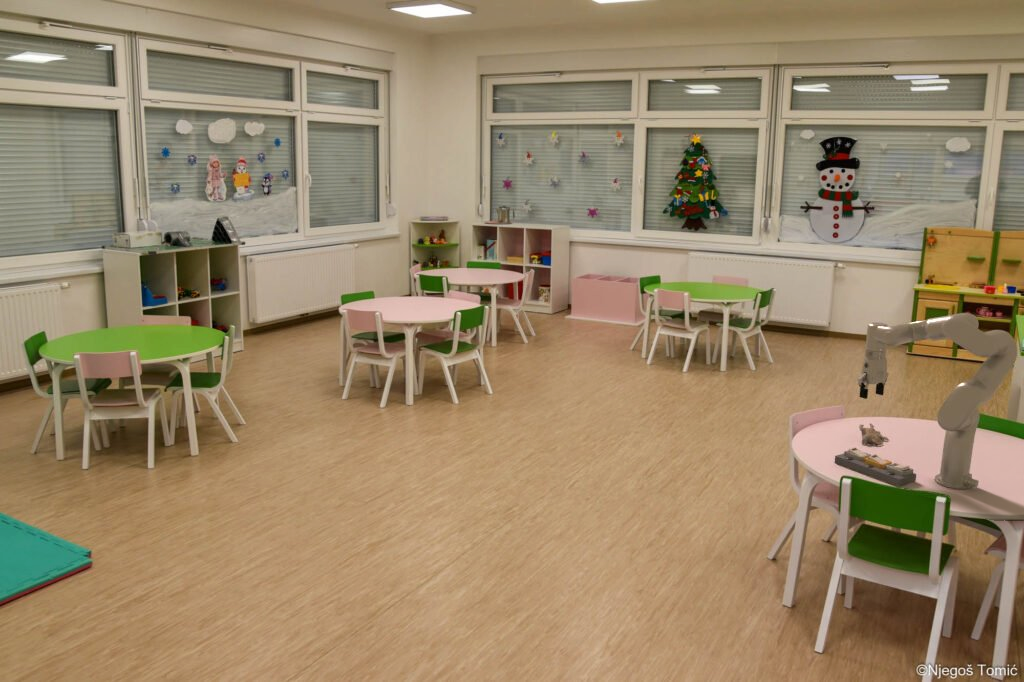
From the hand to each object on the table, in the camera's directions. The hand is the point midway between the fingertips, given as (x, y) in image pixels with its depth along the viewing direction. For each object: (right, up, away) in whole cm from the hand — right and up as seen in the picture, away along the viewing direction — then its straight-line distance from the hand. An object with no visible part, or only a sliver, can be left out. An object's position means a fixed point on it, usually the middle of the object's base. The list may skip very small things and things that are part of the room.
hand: (871, 396), depth 332 cm
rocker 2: (+3, -26, -19) cm, 32 cm away
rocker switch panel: (-4, -28, -11) cm, 31 cm away
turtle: (+11, -21, +24) cm, 33 cm away
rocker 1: (-7, -22, -4) cm, 23 cm away
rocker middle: (-2, -24, -11) cm, 26 cm away
